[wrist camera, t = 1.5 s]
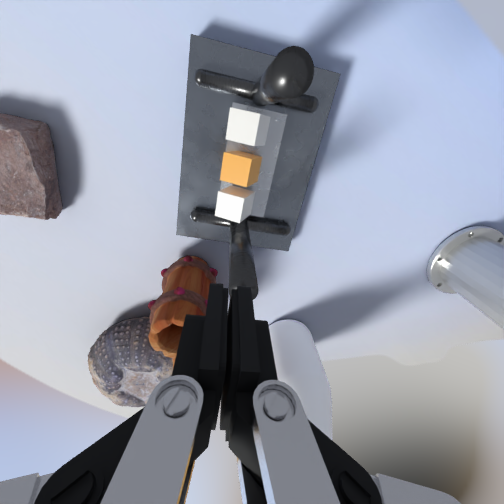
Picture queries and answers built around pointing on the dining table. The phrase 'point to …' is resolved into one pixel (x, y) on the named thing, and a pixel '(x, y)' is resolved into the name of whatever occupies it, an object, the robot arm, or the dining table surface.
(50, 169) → the stone
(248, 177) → the block
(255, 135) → the white tilted cube
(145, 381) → the sea urchin shell
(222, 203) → the white leaning block
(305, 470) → the robot arm
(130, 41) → the dining table surface
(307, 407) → the wine bottle
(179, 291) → the mug
